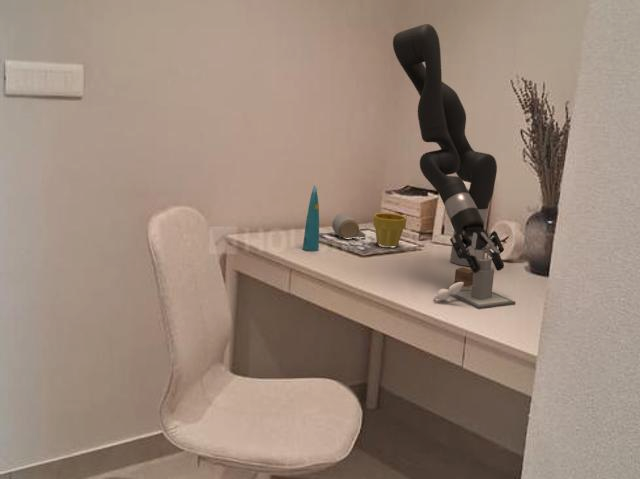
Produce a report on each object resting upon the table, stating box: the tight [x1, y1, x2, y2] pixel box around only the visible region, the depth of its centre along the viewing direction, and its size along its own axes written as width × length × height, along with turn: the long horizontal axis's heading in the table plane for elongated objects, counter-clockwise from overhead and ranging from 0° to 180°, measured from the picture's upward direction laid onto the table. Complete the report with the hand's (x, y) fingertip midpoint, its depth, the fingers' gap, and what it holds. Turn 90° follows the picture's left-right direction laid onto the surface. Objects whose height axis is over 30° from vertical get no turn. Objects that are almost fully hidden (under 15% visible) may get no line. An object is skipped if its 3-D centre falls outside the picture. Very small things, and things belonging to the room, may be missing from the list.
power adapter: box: [471, 250, 495, 300], centre depth 178 cm, size 3×5×12 cm, turn 133°
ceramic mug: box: [331, 212, 366, 238], centre depth 236 cm, size 11×8×8 cm
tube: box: [302, 185, 320, 252], centre depth 215 cm, size 7×5×19 cm, turn 13°
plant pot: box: [372, 212, 407, 247], centre depth 228 cm, size 10×10×10 cm
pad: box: [449, 288, 516, 310], centre depth 179 cm, size 12×12×1 cm
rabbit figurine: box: [432, 282, 464, 303], centre depth 175 cm, size 6×4×8 cm
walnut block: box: [453, 266, 474, 288], centre depth 192 cm, size 4×4×4 cm
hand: (489, 270), depth 176 cm, fingers open, 7 cm apart
